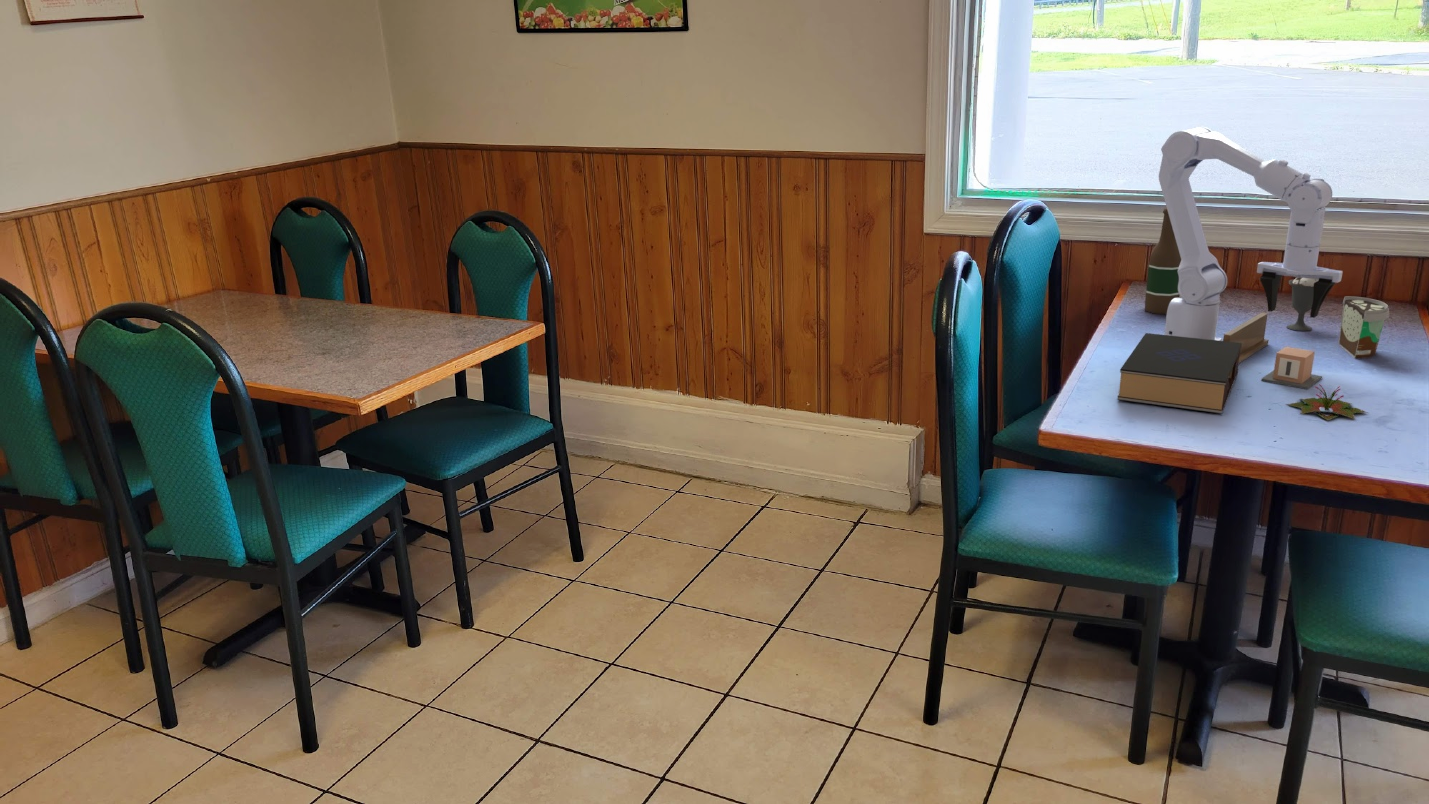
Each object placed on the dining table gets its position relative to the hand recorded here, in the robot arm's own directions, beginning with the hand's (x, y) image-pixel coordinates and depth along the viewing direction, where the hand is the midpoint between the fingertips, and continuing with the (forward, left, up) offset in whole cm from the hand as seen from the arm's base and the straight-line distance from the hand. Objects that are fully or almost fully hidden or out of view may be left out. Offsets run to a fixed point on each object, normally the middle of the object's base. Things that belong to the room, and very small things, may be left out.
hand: (1292, 313), depth 204 cm
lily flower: (+15, -25, -10) cm, 31 cm away
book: (-9, -29, -10) cm, 32 cm away
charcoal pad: (+5, -12, -9) cm, 16 cm away
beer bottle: (-34, +21, -10) cm, 41 cm away
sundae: (-5, +24, -10) cm, 26 cm away
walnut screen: (-7, -2, -9) cm, 12 cm away
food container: (+10, +14, -10) cm, 20 cm away
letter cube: (+5, -12, -9) cm, 16 cm away
